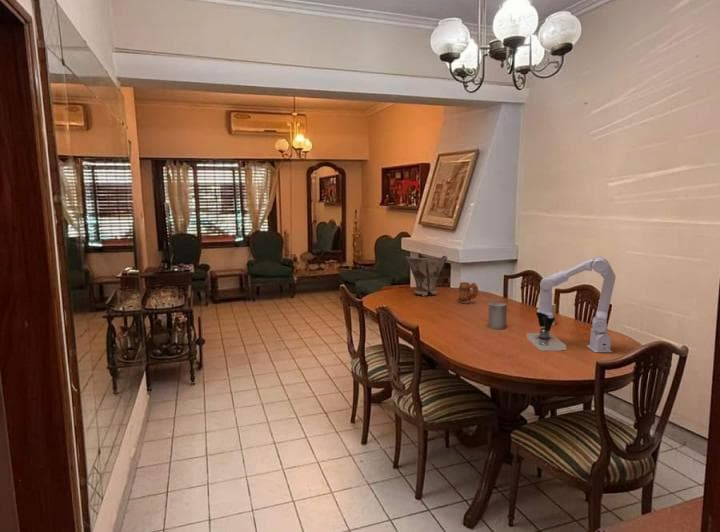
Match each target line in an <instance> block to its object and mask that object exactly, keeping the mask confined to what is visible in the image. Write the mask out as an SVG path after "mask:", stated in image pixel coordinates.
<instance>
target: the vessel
mask: <svg viewBox="0 0 720 532" xmlns="http://www.w3.org/2000/svg"><path fill="white" fill-rule="evenodd" d="M405 260H406V261H407V263H408V265H409V267H410V271H411V273H412V275H413V278H414V281H415V282H414V283H415V289H414V291H413V294H414V295H416V294H417V296H420V295H424V296H425V297H427V296H429V295H430V296H431V295H433V296H437V295H438V291H437V290H436V284H437V282H438V279H439V276H440V274H441V272H442V270H443V268H444V266H445V264H446V262H447V260H448V256H447V255H442V257H413V256H412V257H411V256H405ZM428 294H429V295H428ZM436 294H437V295H436Z"/></svg>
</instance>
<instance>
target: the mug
mask: <svg viewBox="0 0 720 532" xmlns="http://www.w3.org/2000/svg"><path fill="white" fill-rule="evenodd" d="M458 290H459V292H458V293H459V296H458V301H459V303H460V304H463V303H465V304H470V303H471V300H473V299H476V298H477V296H478V293H479V287H478V285H477V284H476V282H471V283H469V282H465V281H464V282H463V281H462V282H460V283H459V287H458ZM471 290H472V292H471Z"/></svg>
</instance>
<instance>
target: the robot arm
mask: <svg viewBox="0 0 720 532" xmlns="http://www.w3.org/2000/svg"><path fill="white" fill-rule="evenodd" d="M586 271H589V272H593V271H594V272H596V273H597V274H600V276H601V277H602V278H603V281H602V286H601V291H600V294H599V295H600V296H599V301H598V304H597V309H596V312H595V315H594V317H592V320H591V323H592V327H591V328H590V336H589V338H590V339H589V344H586V345H585V346H586V347H587V348H588V349H590V350H591V351H592V352H594V353H613V351H612V350H611V345H612V344H611V343H612V339H611V337H610V335H609V333H608V332H609V330H608V323H607V322H608V313H609V308H610V304H611V300H612V296H613V290H614V287H615V286H614V285H615V282H616V273H615V272H614V269H613V268H612V266H611V264H610V261H608V260H607V259H606V258H605V257H603V256H596V257H595V258H590V259H587V260H586V261H583V262H581V263H579V264H578V265H576V266H572V268H569V269H567V270H563V269H562V270H559V269H558V270H556V272H555V273H553V274H551V275H547V276H546V277H543V278H542V279H541V280H540V283H539V286H540V288H539V289H540V290H539V291H540V292H539V306H538V308H537V310H536V312H535V314H536V317H537V320H538V325H539V327H540V328H545V331H549V332H550V331H551V329H552V326H553V325H552V323H553V321H554V320H555V321H556V317H555V318H554V317H553V314H552V303H553V292H552V291H553V287H557V286H559V285H561V284H562V285H563V284H564V283H566V282H568V281H569V278H570V277H572V276H575V275H578V274H580V273H582V272H586Z"/></svg>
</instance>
